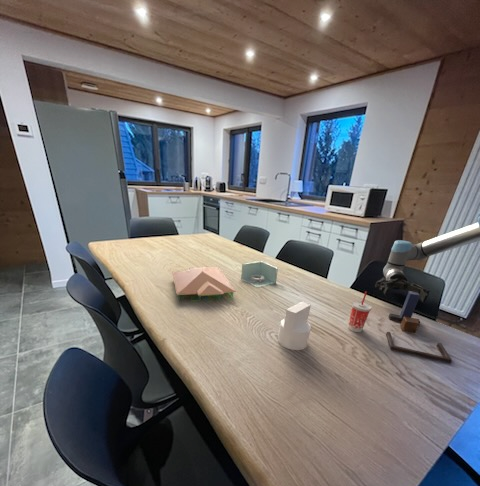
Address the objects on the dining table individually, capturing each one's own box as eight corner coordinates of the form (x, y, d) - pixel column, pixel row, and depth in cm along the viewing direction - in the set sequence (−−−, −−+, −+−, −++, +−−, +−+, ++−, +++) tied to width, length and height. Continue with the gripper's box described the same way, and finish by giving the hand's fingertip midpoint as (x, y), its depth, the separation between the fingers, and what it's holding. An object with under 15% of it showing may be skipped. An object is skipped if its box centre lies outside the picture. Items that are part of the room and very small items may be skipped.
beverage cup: (367, 330, 91) (379, 293, 85) (358, 335, 88) (370, 296, 82) (351, 322, 96) (362, 286, 90) (342, 326, 92) (352, 290, 86)
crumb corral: (439, 346, 85) (441, 343, 85) (450, 363, 77) (452, 360, 76) (386, 334, 90) (387, 331, 89) (390, 349, 81) (391, 346, 81)
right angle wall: (241, 278, 128) (242, 263, 125) (259, 275, 135) (261, 261, 132) (256, 287, 120) (258, 271, 117) (275, 283, 127) (278, 268, 123)
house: (177, 305, 97) (177, 285, 94) (171, 275, 126) (171, 258, 122) (237, 302, 104) (238, 282, 101) (218, 274, 132) (219, 258, 129)
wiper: (417, 322, 100) (428, 294, 95) (419, 325, 97) (431, 297, 92) (388, 316, 102) (398, 289, 97) (389, 319, 100) (399, 291, 95)
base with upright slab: (297, 353, 76) (304, 317, 71) (272, 340, 81) (277, 305, 76) (312, 342, 82) (320, 307, 77) (288, 330, 87) (294, 297, 82)
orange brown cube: (412, 328, 95) (416, 318, 93) (415, 333, 92) (419, 323, 90) (400, 325, 96) (403, 316, 94) (402, 331, 93) (406, 321, 91)
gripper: (423, 291, 120) (438, 311, 102) (365, 281, 127) (368, 297, 109) (429, 276, 117) (446, 293, 99) (369, 266, 124) (374, 280, 105)
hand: (405, 295), depth 104 cm, fingers open, 13 cm apart
